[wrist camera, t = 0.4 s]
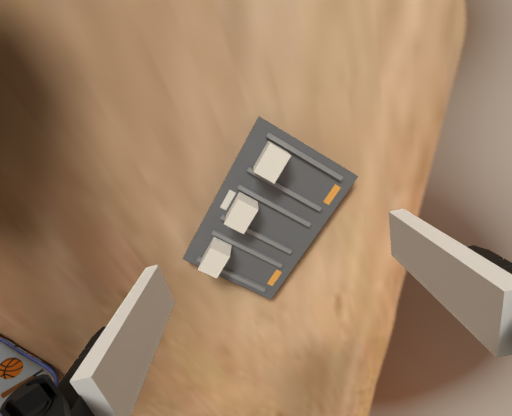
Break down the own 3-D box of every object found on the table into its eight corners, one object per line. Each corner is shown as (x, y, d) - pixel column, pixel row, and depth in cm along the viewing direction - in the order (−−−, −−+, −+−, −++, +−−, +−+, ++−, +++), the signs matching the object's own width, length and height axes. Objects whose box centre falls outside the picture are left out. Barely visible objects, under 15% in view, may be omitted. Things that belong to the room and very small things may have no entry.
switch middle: (226, 214, 37) (223, 224, 34) (239, 191, 36) (238, 199, 32) (244, 223, 37) (243, 234, 34) (257, 201, 36) (258, 209, 33)
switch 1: (202, 256, 39) (197, 269, 36) (213, 236, 38) (210, 247, 35) (219, 265, 40) (216, 278, 36) (231, 245, 39) (229, 257, 35)
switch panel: (186, 250, 42) (181, 261, 39) (258, 116, 35) (259, 116, 32) (269, 290, 45) (271, 302, 42) (351, 172, 38) (360, 177, 35)
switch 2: (253, 166, 35) (253, 172, 31) (268, 140, 34) (270, 143, 30) (272, 177, 35) (274, 183, 32) (287, 151, 34) (291, 155, 31)
